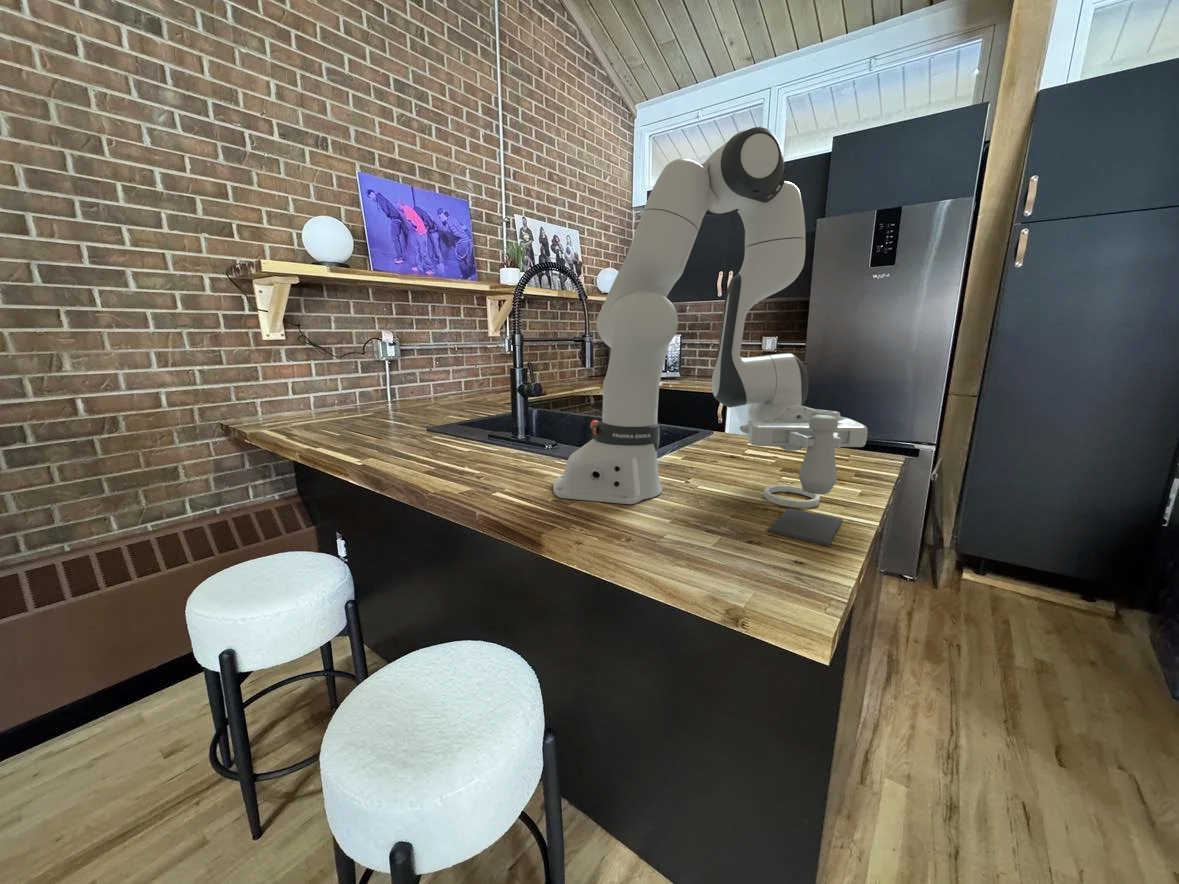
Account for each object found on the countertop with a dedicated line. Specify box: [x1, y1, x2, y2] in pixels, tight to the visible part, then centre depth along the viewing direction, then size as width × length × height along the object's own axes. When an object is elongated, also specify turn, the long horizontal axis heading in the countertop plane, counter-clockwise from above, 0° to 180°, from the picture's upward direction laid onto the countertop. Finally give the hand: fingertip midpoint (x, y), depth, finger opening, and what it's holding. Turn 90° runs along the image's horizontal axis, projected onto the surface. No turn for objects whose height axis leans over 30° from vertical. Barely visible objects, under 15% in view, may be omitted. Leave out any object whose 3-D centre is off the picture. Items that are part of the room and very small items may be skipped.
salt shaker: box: [798, 415, 838, 496], centre depth 79 cm, size 6×6×13 cm
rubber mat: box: [768, 507, 843, 547], centre depth 80 cm, size 12×9×1 cm
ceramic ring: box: [763, 484, 821, 509], centre depth 94 cm, size 10×10×1 cm
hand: (823, 443), depth 78 cm, fingers closed on salt shaker, 3 cm apart
